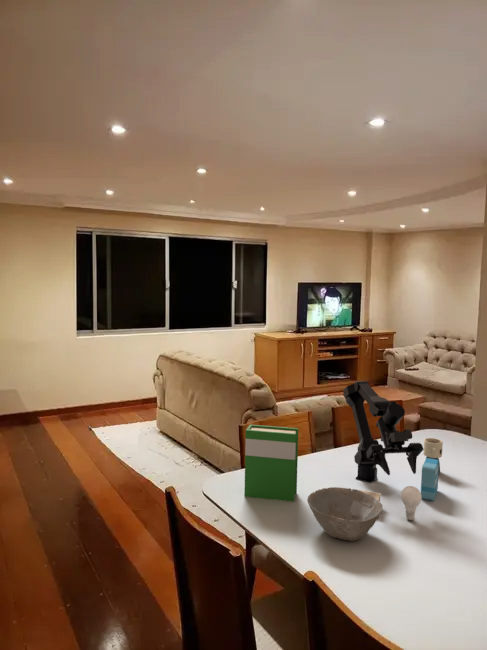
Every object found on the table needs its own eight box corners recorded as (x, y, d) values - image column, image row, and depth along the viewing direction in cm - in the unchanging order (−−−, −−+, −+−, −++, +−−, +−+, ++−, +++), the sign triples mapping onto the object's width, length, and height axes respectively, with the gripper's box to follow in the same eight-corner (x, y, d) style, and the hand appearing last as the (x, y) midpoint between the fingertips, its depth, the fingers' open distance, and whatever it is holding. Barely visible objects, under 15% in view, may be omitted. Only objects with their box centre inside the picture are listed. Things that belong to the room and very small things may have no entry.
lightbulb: (396, 515, 169) (398, 483, 168) (415, 515, 170) (417, 482, 169) (404, 524, 163) (406, 491, 162) (423, 524, 163) (425, 490, 162)
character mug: (442, 477, 203) (444, 445, 202) (423, 475, 205) (425, 443, 203) (439, 468, 213) (441, 437, 212) (421, 466, 215) (422, 435, 214)
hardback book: (296, 493, 185) (298, 428, 183) (294, 501, 178) (295, 434, 176) (248, 488, 189) (250, 424, 187) (244, 496, 182) (245, 430, 180)
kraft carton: (355, 511, 172) (355, 498, 171) (358, 502, 178) (359, 489, 178) (377, 515, 169) (378, 501, 169) (379, 506, 176) (380, 493, 175)
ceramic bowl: (337, 561, 141) (339, 526, 140) (292, 525, 161) (293, 494, 160) (398, 543, 151) (399, 510, 150) (348, 511, 171) (349, 482, 171)
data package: (433, 502, 180) (435, 469, 179) (420, 499, 182) (421, 466, 181) (437, 490, 190) (439, 458, 189) (424, 487, 192) (426, 456, 191)
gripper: (371, 421, 174) (384, 464, 164) (422, 419, 177) (437, 462, 167) (361, 437, 182) (372, 479, 172) (410, 435, 185) (424, 476, 176)
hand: (402, 474), depth 172 cm, fingers open, 9 cm apart
